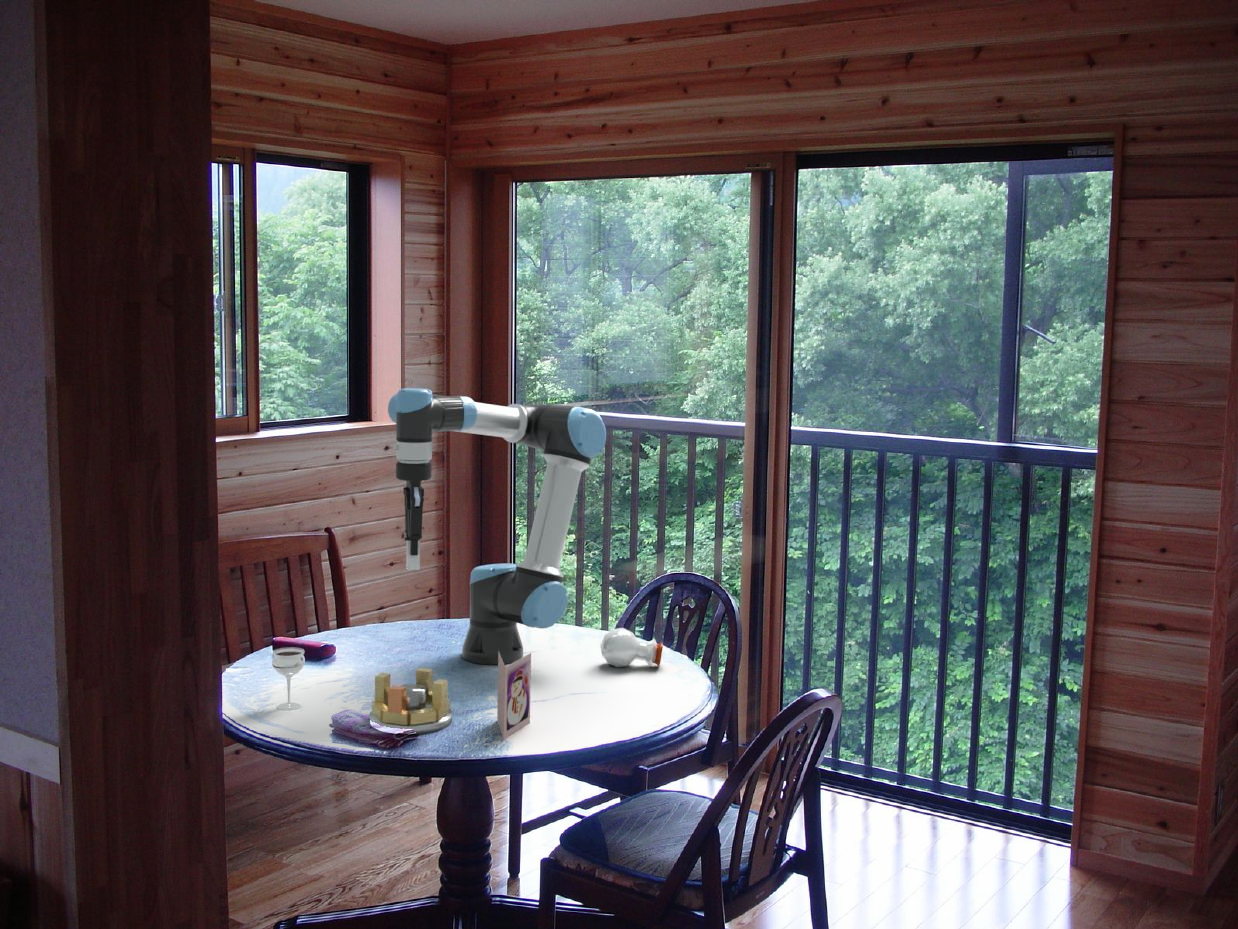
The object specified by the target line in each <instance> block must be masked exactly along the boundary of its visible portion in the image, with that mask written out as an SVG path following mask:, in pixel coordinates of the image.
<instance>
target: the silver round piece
mask: <svg viewBox="0 0 1238 929" xmlns="http://www.w3.org/2000/svg"><path fill="white" fill-rule="evenodd" d="M400 686H402V687H406V711H415V710H422V709H429V708H432V705H426V687H425V686H423V685H420V684H416V683H407V684H401V685H400ZM368 716H369V717H368V718H369V719H370V720H371V721H372V722H375V723H377V724H379V725H380V726H386V727H390V728H400V729H403V728H404V729H413V730H414V732H416V733H417V734H418V735H424V734H426V735H427V734H431V733H436V732H438V731H441V730H443V729H445V728H447V727H449V726H450V725H451V723H452V722H453V711H452V710H451V708H450V712H449V713H448V714H446V715H445V716H444V717H443V718H441V719H440V720H436V721H434V722H428V723H421V724H414V725H410V724H408V725H403V724H395V723H387V722H383V721H380V720H379V719H378V718H377V717H375V716H374V715H373V714H372V710H371V711H370V713H369V715H368Z"/></svg>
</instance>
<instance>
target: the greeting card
mask: <svg viewBox="0 0 1238 929" xmlns="http://www.w3.org/2000/svg"><path fill="white" fill-rule="evenodd" d="M497 665H498V666H497V667H498V668H497V669H498V671H497V713H496V714H497V724H498V727H499V730H500V732H501V736H502V739H503V740H506V739H507V738H509V737H510V736H512V735H513V734H515V733H516V732H518V731H519V730H521V729H523V728H524V727H525V726H527V725H528V724H530V721H531V677H532V674H531V672H532V652H529V654H528V653H527V654H526V655H525V656H524V655H523V657H522V658H521V659H519V660H517V661H515V662H511V663H509V664H508V665H506V666H505V664H504V663H503V661H502V658H501V656H500V653H499V652H498V664H497Z"/></svg>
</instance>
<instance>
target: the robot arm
mask: <svg viewBox="0 0 1238 929" xmlns="http://www.w3.org/2000/svg"><path fill="white" fill-rule="evenodd" d="M387 413H388V416H389V418H390V420H391V421H392V422H394V423H395V424H396V425H395V432H396V434H395V437H396V439H395V440H396V445H393V448H392V449H393V450H394V451H396V452H395V453H396V455H395V456H396V459H397V460H398V461H396V463H395V478H396V479H397V480H399V481H405V482H406V486H403V489H402V490H403V491H402V492H403V495H404V503H403V504H404V522H405V523H404V528H405V529H404V533H405V534H406V535H405V537H404V541H405V542H406V564H405V566H406V570H407V571H416V570H417V571H419V570H421V539H422V538H423V535H422V534H423V532H422V531H423V512H424V511H423V510H424V501H425V498H424V496H425V488H423V487H422V481H428V480H431V478H432V468H433V467H432V466H433V465H432V463H431V461H430V460H432V459H433V433H437V432H457V433H458V432H459V433H467V434H473V435H474V434H475V435H479V436H480V435H483V436H490V437H497V438H498V437H499V438H502V439H504V440H505V441H506V442H508V443H513V444H519V445H522V446H527V447H531V448H534V449H536V450H537V449H538V450H540V451H543V455H542V456H543V457H542V458H544V460H545V461H546V469H545V472H544V477H543V482H542V485H541V489H540V493H539V498H538V502H537V506H536V511H535V513H534V514H535V515H534V518H533V523H532V526H531V530H530V536H529V539H528V543H527V547H526V551H525V555H524V559H523V560H522V561H521V562H519V563H518V564H516V563H493V564H492V563H491V564H485V565H479V566H475V567H474V568H473V569H472V571H471V572H470V580H469V581H470V582H469V627H468V628H467V629H468V630H467V633H466V635H465V638H464V642H463V643H462V644H463V645H462V648H461V651H462V652H461V656H462V658H463V659H464V660H466V661H468V662H471V663H475V664H480V665H481V664H483V665H498V652H499V653H500V656H501V658H502V661H503V663H504V665H505V664H512V663H513V662H515V661H517V660H519V659H521V658H523V657H524V646H523V642H522V639H521V636H520V632H519V629H518V626H517V624H520V625H524V626H526V627H528V628H532V629H533V628H536V629H548V628H551V627H553V626H554V625H555V624H556V623H558V622H559V621H560V620H561V619H562V617H564V614H565V612H566V610H567V607H568V604H569V603H568V602H569V594H568V593H567V592H568V590H567V588H566V587H565V585H563V584H562V583H563V580H564V575H563V573H562V571H561V569H560V566H561V565H560V564H561V560H562V557H563V552H564V548H565V543H566V540H567V536H568V531H569V528H570V522H571V519H572V518H571V517H572V515H573V510H574V506H575V502H576V498H577V493H578V489H579V485H580V481H581V476H582V472H584V471H586V470H587V469H588V468H589V467H590V465H591V462H592V458H594V457H597V456H598V455H600V453H601V452H603V449H604V448H605V445H606V441H607V429H606V426H605V423H604V422H603V419H602V417H601V416H600V414H599V413H598V412H596V411H595V410H593V409H591V408H587V407H582V406H579V405H578V406H573V405H572V406H569V405H558V404H551V403H550V404H549V403H547V404H545V403H543V404H540V403H539V404H520V403H519V404H518V403H511V404H509V405H507V406H505V405H497V404H490V403H484V402H477V401H474V400H473V399H472V398H471V397H469V396H464V395H456V396H455V395H454V396H449V395H448V396H447V395H438V394H437V395H436V394H433V392H432V390H431V389H428V388H413V387H412V388H410V387H409V388H407V387H406V388H400V389H399V390H398V392H396V393H395V394H393V396H391V398H390V400H389V401H388V406H387Z"/></svg>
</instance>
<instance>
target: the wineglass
mask: <svg viewBox="0 0 1238 929" xmlns="http://www.w3.org/2000/svg"><path fill="white" fill-rule="evenodd" d="M305 650H306V649H305ZM305 650H304V648H301V647H280V648H276V649H274V650H273V651H272V655H273V657H272V663H271V664H272V665H271V666H272V668H273V669H274V670H275V671H276V672H277V673H278V674H279V675H281V676H284V677H285V679H286V685H287V686H286V688H287V689H286V690H287V691H286V692H287V702H283V703H280V704H278V705H277V706H276V708H277V709H279V710H280V711H281V710H282V711H291V710H296V709H299V708H300V707H302V706H301V704H300V703H298V702H292V701H291V680H292V679H291V678H293V676H294V675H297V674H298V673H300V671H301V670H302V669H304V666H305V663H306V659H305V656H304V655H305Z"/></svg>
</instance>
